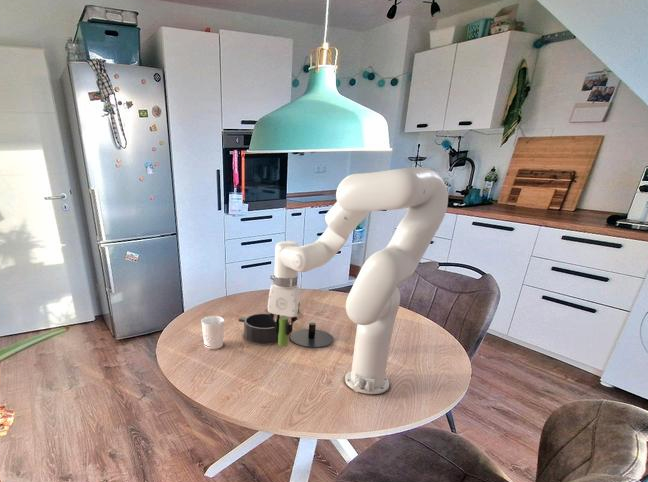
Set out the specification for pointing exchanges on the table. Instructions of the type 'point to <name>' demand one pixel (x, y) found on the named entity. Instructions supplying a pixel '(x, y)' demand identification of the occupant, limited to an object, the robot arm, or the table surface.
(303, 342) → the pot lid
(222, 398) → the table surface
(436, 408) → the table surface
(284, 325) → the green cylinder
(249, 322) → the pot
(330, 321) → the table surface
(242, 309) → the table surface
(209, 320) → the white cup
